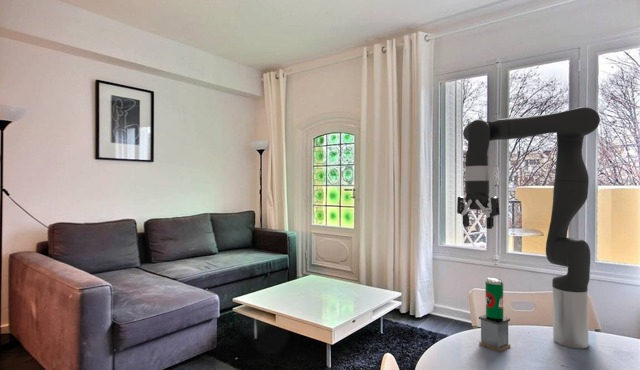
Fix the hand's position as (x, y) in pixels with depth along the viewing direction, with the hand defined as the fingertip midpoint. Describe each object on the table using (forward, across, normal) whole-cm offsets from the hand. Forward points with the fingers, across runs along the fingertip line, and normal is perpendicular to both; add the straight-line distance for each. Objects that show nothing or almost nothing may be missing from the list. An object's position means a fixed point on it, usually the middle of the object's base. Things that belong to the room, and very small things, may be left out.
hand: (477, 227), depth 122 cm
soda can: (+28, -8, +4) cm, 29 cm away
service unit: (+36, -8, +4) cm, 37 cm away
